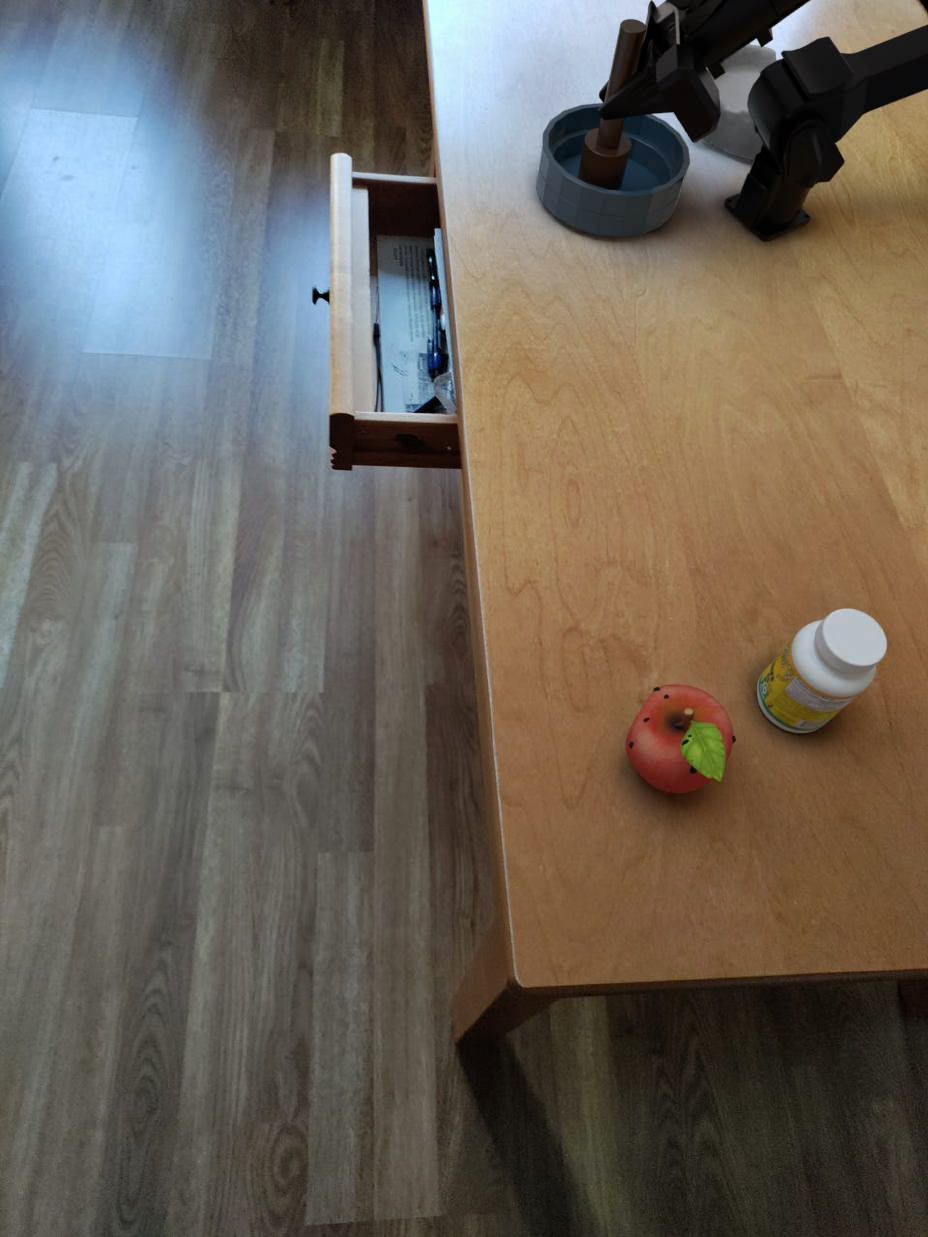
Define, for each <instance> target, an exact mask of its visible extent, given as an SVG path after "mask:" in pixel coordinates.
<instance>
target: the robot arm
mask: <svg viewBox="0 0 928 1237" xmlns="http://www.w3.org/2000/svg"><path fill="white" fill-rule="evenodd" d="M811 1H812V0H664V1H663V2H662V3H661V4H659V5H658V6H657V5H656V3H655V2H654V1H653V0H650V1H649V3H648V6H647V13H646V18H645V23H644V24H645V25H646V33H645V37H644V41H643V46H642V50H641V54H640V59H639V63H638V67H637V72H636V73H635V74H634V75H633V76H632V77H631V78H630V79H628V80H627V81H626V82H625V83H624V84H623V85H622V86H621V87H620V88H619V89H618V90H617V91H616V92H615V93H614V94H612V95H611V96H610V97H609V98H608V99H607V100H606V101H605V96H606V91H607V86H608V82H609V79H608V80H607V81H606V82H605V84H604V85H603V86H602V87H601V89H600V90H599V92H598V98H599V99H600V101H601V103H604V101H605V103H604V104H603V105H602V106H601V107H600V108H599V109H598V113H599V115H600V116H601V118H602V119H603V120H605V121H607V120H613V119H620V118H627V117H634V116H640V115H648V114H652V115H656V114H657V115H658V114H671V113H673V115H674V116H675V118H676V119H677V121H678V122H679V124H680V125H681V127H682V128H683V130H684V131H685V134H686V135H687V136H688V138H689V140H690V141H691V142H692V143H694V144H697V143H698V142H700V141H701V140H703V139H705V138H704V137H706V136H707V135H709V134H710V133H712V132H713V131H715V130H716V128H717V125H718V122H719V119H720V116H721V108H720V96H719V89H718V88H717V86H716V84H715V83H714V81H713V79H712V77H713V78H714V80H716V79H717V78H719V77H720V76H721V75H723V74H724V73H726V70H725V60H727V59H728V58H730V57H731V56H733V55H734V54H735V53H737V52H738V51H740V50H741V49H743V48H744V47H745V46H747V45H748V44H752V43H753V42H754V41H756V40H757V42H758V44H759V46H761V48H762V47H763V46H764V47H766V45H768V44H769V43H771V42H772V41H773V40H774V36H773V35H774V34H773V28H774V27H775V26H777V25H778V24H780V23H781V22H783V20H786V19H787V18H788V17H789V16H791V15H792V14H793V13H795V12H796V11H798V10H799V9H800V8H802V7H804V6H805V5H807V4H808V3H809V2H811ZM780 55H781V57H782V58H780V59H776V60H777V61H775V62H773V63H772V64H770V65H768V66H767V67H766V68H764V69H763V70H762V71H761V72H760V76H759V78H758V79H757V80H756V81H755V83H754V84H753V86H752V88H751V90H750V93H749V95H748V101H747V107H748V112H749V114H750V116H751V118H752V120H753V121H754V131H755V132H756V133H757V134H758V135H759V137H760V139H761V141H762V142H763V145H762V147H761V150H760V152H759V153H758V154H756V156H755V158H754V160H753V161H752V164H751V165H750V169H749V171H748V173H747V174H746V176H745V178H744V180H743V184H742V186H741V189H740V191H739V193H736V194H734V195H731V196H728V197H726V198H725V199H724V201H723V206H724V207H725V209H727V210H728V211H729V212H730V213H732V214H733V215H734V216H735V217H736V218H737V219H739V220H740V221H741V222H742V223H743V224H744V225H745V226H746V227H747V228H749V229H750V230H751V231H752V232H753V233H754V234H755V235H757V237H759V238H760V239H761V240H763V241H769V240H772V239H774V238H776V237H779V236H781V235H783V234H785V233H788V232H790V231H792V230H795V229H797V228H800V227H802V226H804V225H807V224H810V221H811V220H812V215H811V214H810V213H808V212H807V211H806V210H805V209H803V205H804V203H805V202H806V199H807V196H808V194H809V192H810V191H811V189H813V188H814V187H815V186H816V185H818V184H821V183H829V182H831V181H832V179H833V178H834V177H835V176H836V174H837V173H839V171H840V169H842V167H843V166H844V165H845V163H846V160H845V159H844V156H843V155H842V152H841V151H840V149H839V147H838V145H837V144H836V143H838V142H840V141H841V140H842V139H843V138H844V136H845V135H846V134H847V133H848V132H849V131H850V130H851V129H852V128H853V127H854V126H855V125H856V123H857V122H858V121H859V120H860V119H861V118H862V117H863V116H864V115H866V114H867V113H869V112H873V111H875V110H877V109H880V108H883V107H886V106H888V105H890V104H893V103H896V102H899V101H901V100H903V99H906V98H908V97H912V96H914V95H916V94H920V93H923V92H924V91H927V90H928V23H926V24H925V25H923V26H920V27H917V28H915V29H912V30H910V31H907V32H904V33H902V34H900V35H897V36H895V37H892V38H890V39H887V40H884V41H882V42H879V43H876V44H874V45H871V46H869V47H866V48H864V49H862V50H859V51H856V52H851V53H849V52H848V53H847V52H841V51H840V50H839V49H838V47H837V45H836V44H835V43H834V41H833V40H832V38H831V37H830V36H828V35H827V36H823V37H819V38H816V39H814V40H812V41H810V42H809V43H808V44H806V45H803V46H801V47H798V48H795V49H792V50H791V49H790V50H789V49H787V50H785V49H784V50H782V51H781V53H780ZM706 68H708V70H709V71H710V73H711V75H712V77H711V76H710V74H709V72H708V71H707V69H706Z"/></svg>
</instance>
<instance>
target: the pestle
mask: <svg viewBox="0 0 928 1237" xmlns="http://www.w3.org/2000/svg"><path fill="white" fill-rule="evenodd" d="M618 28H619V29H618V34H617V38H616V44H615V47H614V48H615V49H614V52H613V53H614V54H613V57H612V63H611V66H610V73H609V77H608V80H609V82H608V86H607V91H606V96H605V101H606V100H607V99H608V98H609V97H610V96H611V95H612V94H614V93H615V92H616V91H617V90H618V89H619V88H620V87H621V86H622V85H623V84H624V83H625V82H626V81H627V80H628V79H630V78H631V77H632V76H633V75H634V74H635V73H636V72H637V67H638V63H639V59H640V54H641V50H642V46H643V41H644V37H645V33H646V25H645V23H644V22H643V21H641V20H639V19H635V18H627V19H624V20H622V21H621V22H620V24H619V27H618ZM605 101H604V103H605ZM625 119H626V118H620V119H613V120H607V121H605V120H603V119H602V118H601V121H600V125H599V128H597V129H593V130H591V131H590V132H588V133H587V135H586V136H585V140H584V145H583V150H582V156H581V161H580V166H579V171H578V176H577V178H578V179H580V180H582V181H583V182H585V183H588V184H591V185H594V186H597V187H601V188H604V189H607V190H617V191H618V190H619V189H620V188H621V186H622V182H623V178H624V174H625V170H626V166H627V162H628V158H629V154H630V150H631V141H630V139H629V138H628V137H627V136H626V135H625V134H624V133H622V132H623V128H624V123H625Z"/></svg>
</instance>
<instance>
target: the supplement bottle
mask: <svg viewBox="0 0 928 1237" xmlns="http://www.w3.org/2000/svg"><path fill="white" fill-rule="evenodd" d="M887 648H888V640H887V636H886V634H885V632H884V630H883V628H882V627H881V625H880V624H879V623H878V622H877V621H876V620H875V618H873V617H872V616H870V615H868V614H867V613H865V612H863V611H861V610H859V609H855V608H838V609H836V610H834V611H832V612H830V613H829V614H828V615H827V616H826V617H825V618H824V619H819V620H815V621H812V622H810V623H808V624H806V625H805V626H803V627H802V628H801V629H800V630H799V631H798V632H796V634H795V635H794V636H793V637H792V638H791V640H790V641H789V642H788V643H787V644H786V646H784V648H783V649H782V650H781V651H780V652H779V654H777V655H776V657H775V658H774V659H773V660H772V661H771V663H770V664H769V665H768V666H767V667H766V668H765V669H764V670H763V672H762V673H761V674H760V676H759V678H758V681H757V683H756V684H757V685H756V695H757V701H758V705H759V708H760V709H761V711H762V713H763V714H764V716H765V717H766V718H767V719H768V720H769V721H770V722H771V723H772V724H774V725H775V726H777V727H778V728H780V729H782V730H784V731H787V732H790V733H795V734H806V733H807V734H808V733H812V732H815V731H817V730H818V729H821V728H822V727H823V726H825V725H826V724H827V723H829V722H830V720H831V719H833V718H835V716H836V715H837V714H839V713H840V712H841V711H842V710H843V709H844V708H845V707H846V706H848V705H849V704H850V703H851V702H852V701H854V700H855V699H856V698H857V697H858V696H859V695H861V694H862V693H863V692H864V691H865V690H866V689H867V688H869V686H870V685H871V683H873V681H874V678H875V676H876V672H877V664H878V663H879V662H880V661H882V660H883V658H884V657H885V655H886V652H887Z"/></svg>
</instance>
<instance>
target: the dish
mask: <svg viewBox="0 0 928 1237" xmlns="http://www.w3.org/2000/svg"><path fill="white" fill-rule="evenodd" d="M777 60H778V59H777V52H776V50H775V49H773V48H771V47H769V46H768V47H767V46H763V47H762V48H761V46H760V45H758V44H752V43H750V44H748V45H747V46H745V47H744V48H743V49H741V50H740V51H738V52H737V53H735V54H734V55H733V56H731V57H730V58H728V59H727V60H725V70H726V73H724V74H723V75H721V76H720V77H719V78H717V79H716V80H714V78H713V77H712V75H711V73H710V71H709V70H708V68H706V69H707V71H708V72H709V74H710V76H711V77H712V79H713V81H714V83H715V84H716V86H717V88H718V89H719V96H720V108H721V116H720V119H719V122H718V125H717V128H716V130H715V131H713V132H712V133H710V134H709V135H707V136H706V137H704V138H703V139H704V140H706V141H707V143H709V144H711V145H712V146H714V147H716V148H718V149H720V150H722V151H724V152H726V153H729V154H731V155H735V156H738V157H741V158H745V159H749V160H753V161H754V158H755V156H756V154H758V153H759V152H760V150H761V147H762V145H763V142H762V141H761V139H760V137H759V135H758V134H757V133H756V132H755V131H754V121H753V120H752V118H751V116H750V114H749V112H748V107H747V101H748V95H749V93H750V90H751V88H752V86H753V84H754V83H755V81H756V80H757V79H758V78H759V76H760V72H761V71H762V70H763V69H764V68H766V67H767V66H768V65H770V64H772V63H773V62H775V61H777Z"/></svg>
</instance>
